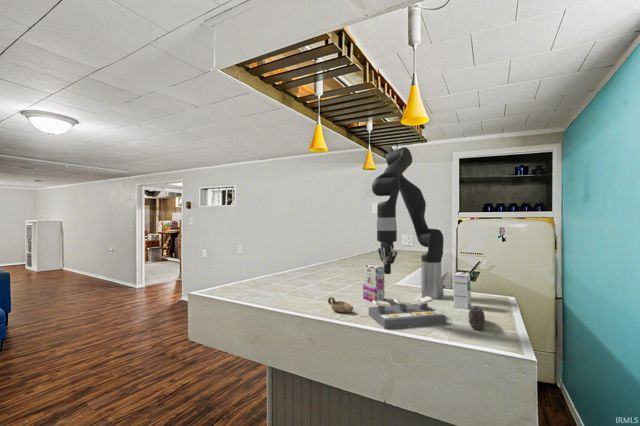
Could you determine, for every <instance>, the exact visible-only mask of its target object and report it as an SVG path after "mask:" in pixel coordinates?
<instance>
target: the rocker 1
mask: <svg viewBox="0 0 640 426" xmlns="http://www.w3.org/2000/svg"><path fill="white" fill-rule="evenodd" d="M371 303H372V304H374V305H375V306H377V307H378V306H385V307H390V306H392V305H391V303H389V302H387V301H384V302H383V301H376V300H373V301H372V302H371Z"/></svg>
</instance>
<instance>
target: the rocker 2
mask: <svg viewBox="0 0 640 426" xmlns="http://www.w3.org/2000/svg"><path fill="white" fill-rule="evenodd" d="M433 301H434V299H433V298H430V297H428V296H427V297H422V298H418V299H415V300H414V304H418V305H423V304H426V303H427V304H428V303H431V302H433Z"/></svg>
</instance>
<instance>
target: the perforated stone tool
mask: <svg viewBox="0 0 640 426" xmlns="http://www.w3.org/2000/svg"><path fill="white" fill-rule="evenodd" d="M468 323H469V326H470V327H471V328H473V329H474V330H482V329H484V327H485V324H486V317H485V312H484V310H483V309H482V307H480V306H478V305H474V306H471V307H470V309H469V311H468Z"/></svg>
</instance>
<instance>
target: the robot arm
mask: <svg viewBox="0 0 640 426" xmlns="http://www.w3.org/2000/svg"><path fill="white" fill-rule="evenodd" d="M385 161H386V164H387V167H386V168H385V169H384V171H383V173H382V174H380V175H378V176H377V177H376V178H374V180H373V182H372V185H371V190H372V193H373V194H374V195H375V196H377V197H388V196H389V197H388V200H385V201H382V202H379V203H378V204H377V208H376V209H377V210H376V214H377V220H376V241H377V242H379V243H380V247H379V248H377V251H378V254H379V255H378V256H379V258H380V261H381V262H382V264H383V267H384V275H391V273H392V270H391V269H392V266H391V265H393V264H394V263H395V260H396V257H397V255H398V252H397V250H395V246H394V242H395V243H396V242H397V240H398V238H397V237H398V236H397V235H398V233H397V232H398V231H397V230H398V226H397V224H398V223H397V218H396V217H397V200H398V197H399V193H400V195H401V197H402V200H403V202H404V205H405V207H406V210H407V211H408V214H409V217H410V220H411V222H412V225H413V228H414V232H415V235H416V239H417V241H418V243H419V244H420V246H422V247H424V248H427V252H426V253H425V254H422V255H421V297H422V298H424V297H427V296H428V297H430V298H433V300H434V299H441V298H444V278H443V277H442V258H443V254H444V234H443V232H442V230H441V229H438V228H429V227H428V225H427V222H426V218H425V213H426V207H427V203H426V200H425V198H424V195H423V192H422V190H421V189H420V188H419V186H417V185H416V184H414V183H413V182H411V181H410V180H408V179H407V178H406V177H405V176H404V174H403V173H404V172H405V171H406V170H407V169H409V167H410V166H411V165H412V163H413V156H412V153H411V151H410V149H409V148H408V147H406V146H405V147H404V146H403V147H400V148H397V149H395V150H392V151H389V152H387V153H386V154H385Z"/></svg>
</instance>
